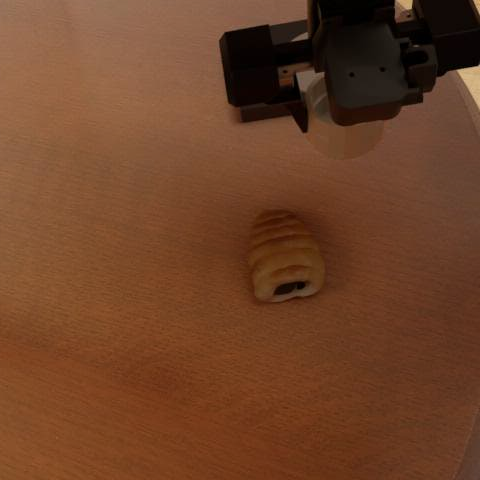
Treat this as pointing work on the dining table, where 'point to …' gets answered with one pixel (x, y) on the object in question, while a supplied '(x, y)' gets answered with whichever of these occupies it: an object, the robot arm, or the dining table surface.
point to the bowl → (337, 127)
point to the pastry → (283, 257)
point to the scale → (289, 34)
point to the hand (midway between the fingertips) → (344, 122)
